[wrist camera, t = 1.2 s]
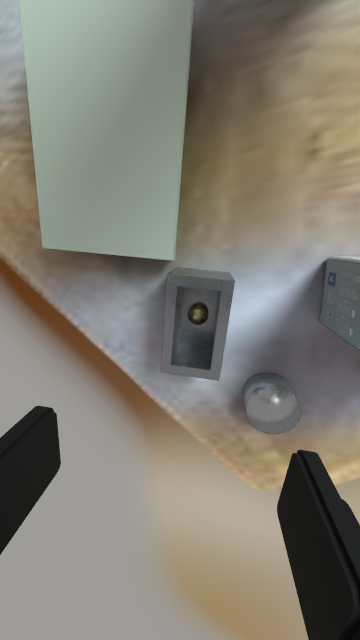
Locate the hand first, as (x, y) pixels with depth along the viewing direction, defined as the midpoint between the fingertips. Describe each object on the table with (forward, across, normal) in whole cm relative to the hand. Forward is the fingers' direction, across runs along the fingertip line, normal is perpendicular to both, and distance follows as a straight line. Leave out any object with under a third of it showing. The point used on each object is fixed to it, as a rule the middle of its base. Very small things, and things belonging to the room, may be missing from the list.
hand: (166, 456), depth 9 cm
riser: (+20, +10, -16) cm, 28 cm away
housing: (+21, 0, 0) cm, 21 cm away
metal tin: (+21, -10, +10) cm, 25 cm away
